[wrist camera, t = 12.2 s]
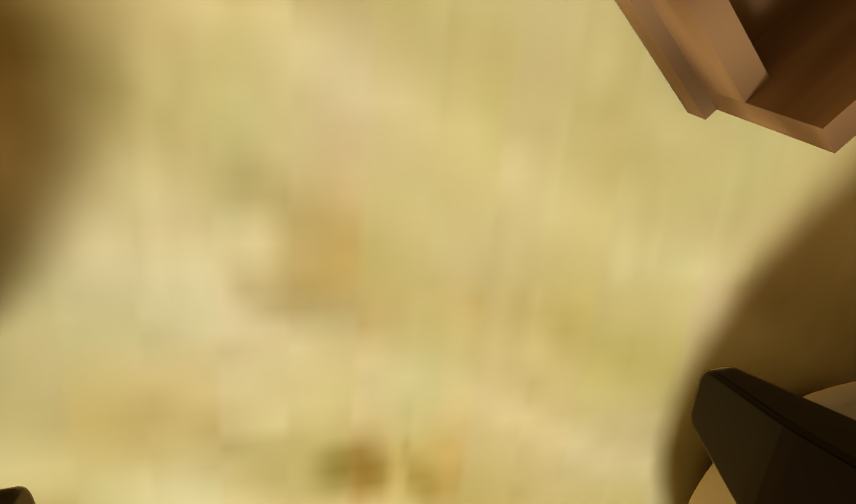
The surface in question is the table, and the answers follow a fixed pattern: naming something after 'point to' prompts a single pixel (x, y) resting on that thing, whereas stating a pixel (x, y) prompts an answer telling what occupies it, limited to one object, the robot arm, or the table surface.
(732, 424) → the robot arm
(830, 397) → the pot
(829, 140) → the brown wooden tray
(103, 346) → the table surface
